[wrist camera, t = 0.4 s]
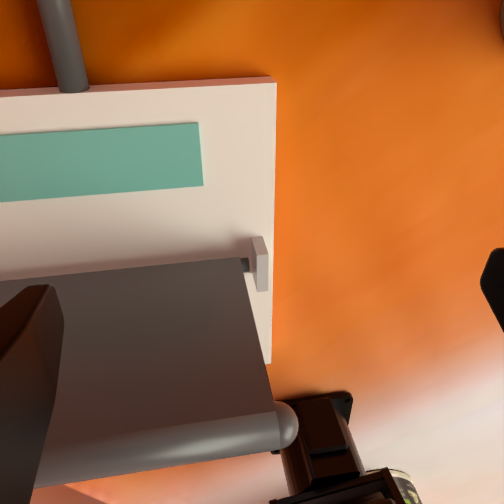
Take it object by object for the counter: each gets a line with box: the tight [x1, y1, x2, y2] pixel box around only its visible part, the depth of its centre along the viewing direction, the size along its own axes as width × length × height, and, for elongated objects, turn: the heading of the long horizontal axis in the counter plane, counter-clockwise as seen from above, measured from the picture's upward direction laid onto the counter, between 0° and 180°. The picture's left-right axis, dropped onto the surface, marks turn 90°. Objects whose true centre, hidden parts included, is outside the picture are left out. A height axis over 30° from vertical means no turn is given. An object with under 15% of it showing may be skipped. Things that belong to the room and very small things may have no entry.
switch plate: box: [0, 0, 277, 364], centre depth 20 cm, size 27×17×3 cm, turn 1°
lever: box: [0, 257, 298, 489], centre depth 18 cm, size 2×15×11 cm, turn 91°
